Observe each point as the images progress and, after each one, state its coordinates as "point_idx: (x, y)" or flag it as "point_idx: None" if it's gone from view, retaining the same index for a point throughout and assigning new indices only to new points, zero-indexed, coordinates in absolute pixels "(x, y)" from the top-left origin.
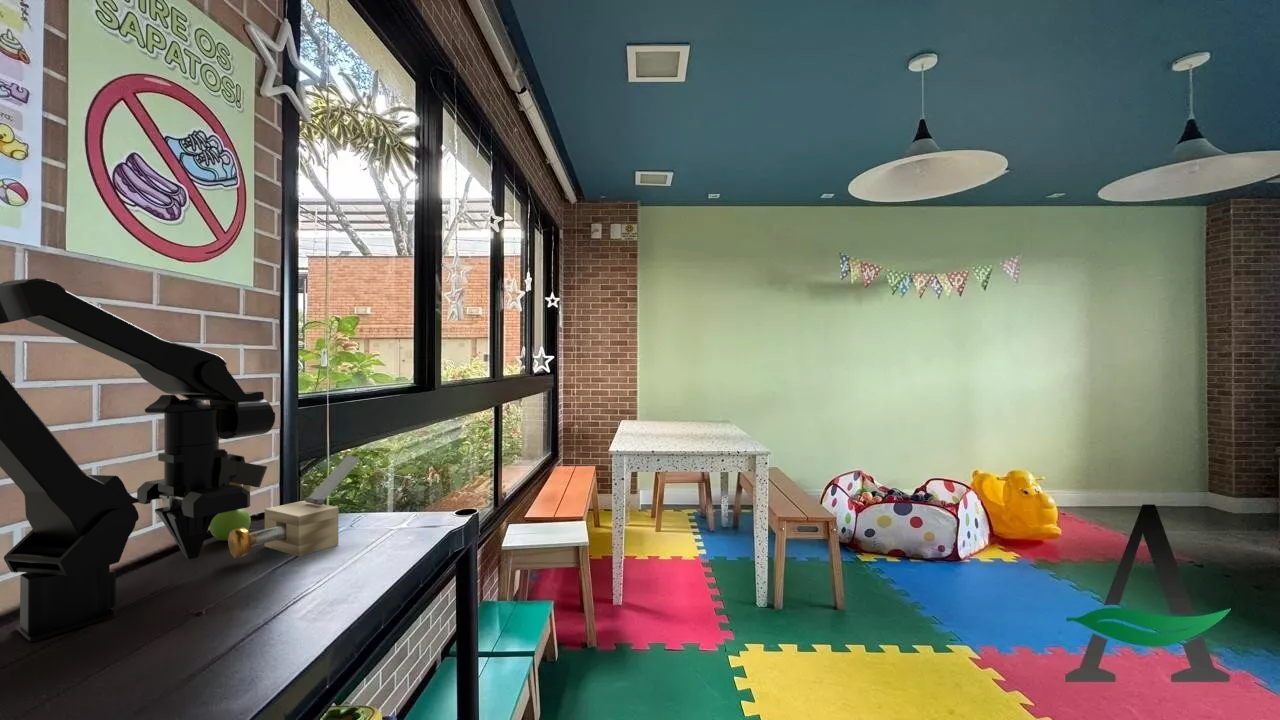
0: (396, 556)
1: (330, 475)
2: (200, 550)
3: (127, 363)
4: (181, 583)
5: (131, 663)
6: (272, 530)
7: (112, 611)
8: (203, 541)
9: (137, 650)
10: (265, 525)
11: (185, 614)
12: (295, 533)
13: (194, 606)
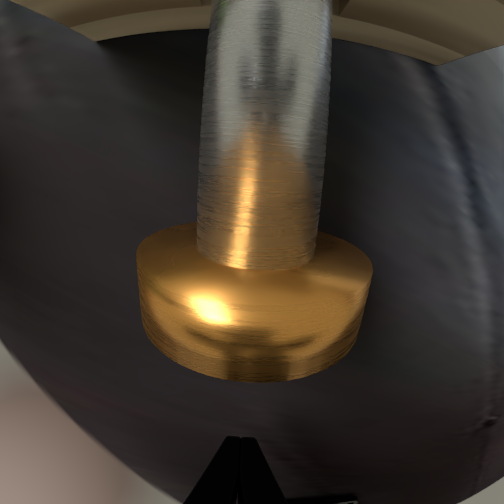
0: None
1: None
2: (262, 456)
3: None
4: (279, 418)
5: (495, 466)
6: (321, 37)
7: (346, 502)
8: (280, 492)
9: (482, 466)
10: (35, 3)
11: (469, 436)
12: (479, 26)
13: (460, 426)
